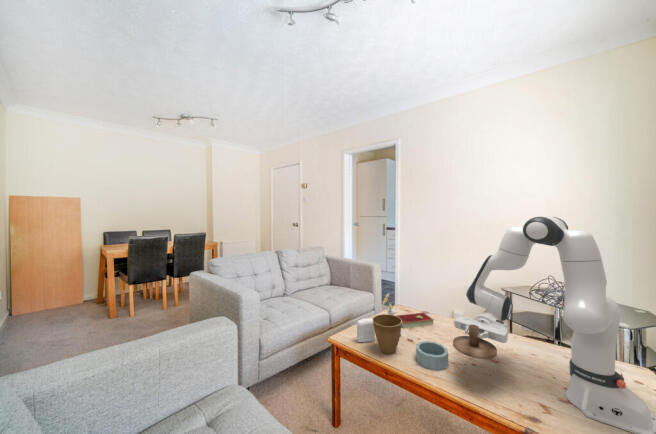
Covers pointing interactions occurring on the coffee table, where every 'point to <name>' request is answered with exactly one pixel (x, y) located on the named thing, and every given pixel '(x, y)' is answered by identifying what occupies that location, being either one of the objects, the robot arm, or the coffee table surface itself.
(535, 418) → the coffee table surface
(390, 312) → the flower in vase
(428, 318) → the hardcover book
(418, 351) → the ceramic bowl
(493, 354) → the walnut lid
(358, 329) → the photo printer
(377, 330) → the plant pot
